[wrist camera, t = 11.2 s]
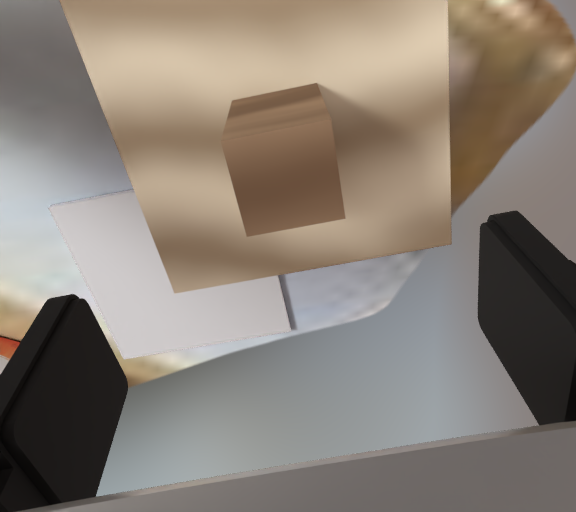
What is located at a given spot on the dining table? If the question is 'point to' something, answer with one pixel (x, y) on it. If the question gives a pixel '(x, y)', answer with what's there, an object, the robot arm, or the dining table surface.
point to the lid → (275, 128)
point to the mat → (157, 284)
